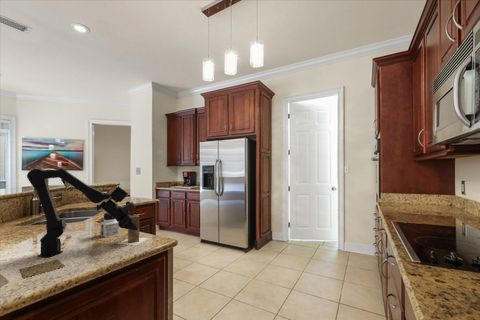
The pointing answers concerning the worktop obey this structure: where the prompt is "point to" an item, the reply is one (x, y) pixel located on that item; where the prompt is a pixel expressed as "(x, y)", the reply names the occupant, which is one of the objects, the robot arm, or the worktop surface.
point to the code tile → (133, 242)
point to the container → (109, 226)
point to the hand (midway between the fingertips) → (136, 227)
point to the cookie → (41, 268)
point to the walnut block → (132, 234)
